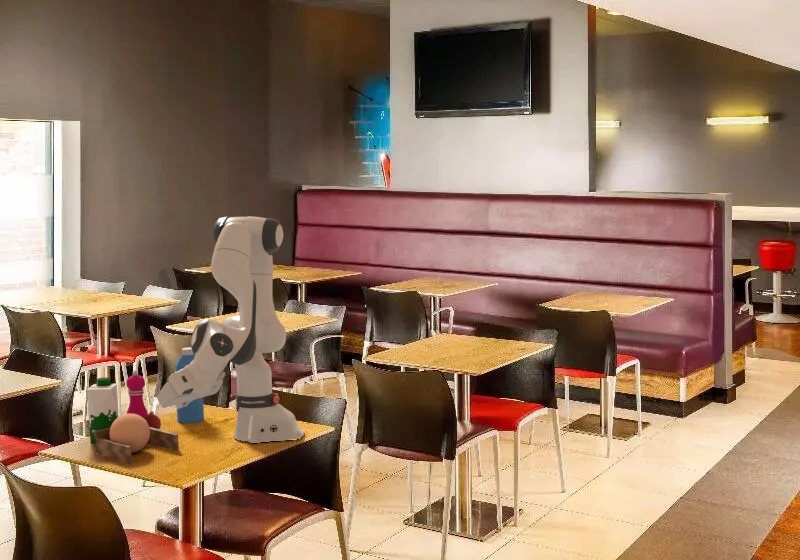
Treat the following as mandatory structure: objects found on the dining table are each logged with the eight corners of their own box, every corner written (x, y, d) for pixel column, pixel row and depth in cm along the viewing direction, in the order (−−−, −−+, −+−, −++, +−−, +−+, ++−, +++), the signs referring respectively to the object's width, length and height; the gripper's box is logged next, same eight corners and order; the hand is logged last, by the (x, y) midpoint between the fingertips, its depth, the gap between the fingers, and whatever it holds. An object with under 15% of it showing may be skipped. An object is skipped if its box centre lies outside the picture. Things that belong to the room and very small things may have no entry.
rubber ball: (151, 411, 325) (144, 448, 326) (112, 406, 321) (105, 444, 322) (154, 421, 314) (147, 460, 315) (113, 417, 310) (107, 456, 311)
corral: (178, 450, 320) (177, 427, 320) (128, 463, 307) (127, 440, 306) (145, 441, 332) (144, 419, 331) (95, 453, 318) (93, 431, 317)
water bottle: (195, 415, 365) (192, 345, 362) (209, 420, 358) (206, 348, 355) (171, 420, 358) (168, 348, 356) (185, 424, 352) (183, 352, 349)
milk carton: (122, 437, 336) (119, 377, 334) (114, 445, 327) (111, 382, 325) (94, 438, 336) (91, 377, 334) (86, 445, 327) (83, 383, 325)
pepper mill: (137, 433, 341) (134, 373, 339) (121, 430, 345) (119, 371, 343) (153, 428, 347) (151, 369, 345) (138, 426, 351) (135, 367, 349)
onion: (156, 438, 335) (155, 413, 334) (139, 437, 336) (138, 413, 336) (164, 433, 341) (163, 409, 340) (147, 432, 342) (146, 408, 341)
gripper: (222, 361, 305) (203, 390, 313) (165, 375, 290) (146, 405, 298) (233, 378, 303) (213, 406, 311) (176, 393, 288) (157, 422, 295)
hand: (180, 406), depth 304 cm, fingers closed
